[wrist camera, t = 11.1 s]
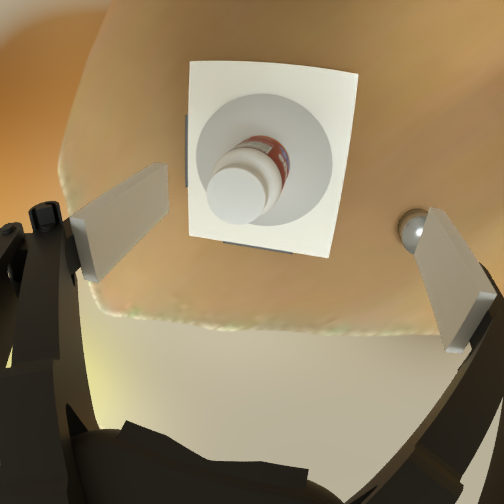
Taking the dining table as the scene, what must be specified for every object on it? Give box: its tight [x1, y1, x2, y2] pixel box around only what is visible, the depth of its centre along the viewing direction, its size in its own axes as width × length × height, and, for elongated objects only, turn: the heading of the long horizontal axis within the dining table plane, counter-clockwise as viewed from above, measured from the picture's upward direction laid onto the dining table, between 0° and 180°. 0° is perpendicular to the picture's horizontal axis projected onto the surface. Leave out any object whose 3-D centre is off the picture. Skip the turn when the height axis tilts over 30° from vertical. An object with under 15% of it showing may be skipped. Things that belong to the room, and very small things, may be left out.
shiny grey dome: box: [398, 209, 428, 254], centre depth 36 cm, size 5×5×3 cm
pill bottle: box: [206, 135, 290, 225], centre depth 28 cm, size 6×6×11 cm
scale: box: [185, 61, 358, 258], centre depth 35 cm, size 22×18×4 cm
